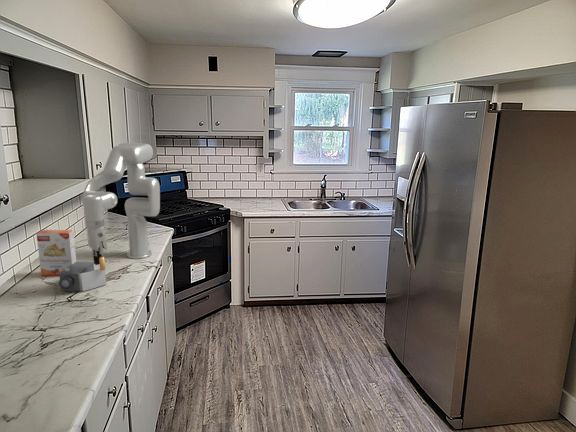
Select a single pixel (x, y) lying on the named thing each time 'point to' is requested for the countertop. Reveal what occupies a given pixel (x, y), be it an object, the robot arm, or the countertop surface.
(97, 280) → the grey blade tan handle
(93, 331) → the countertop surface
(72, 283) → the block
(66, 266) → the cracker box
